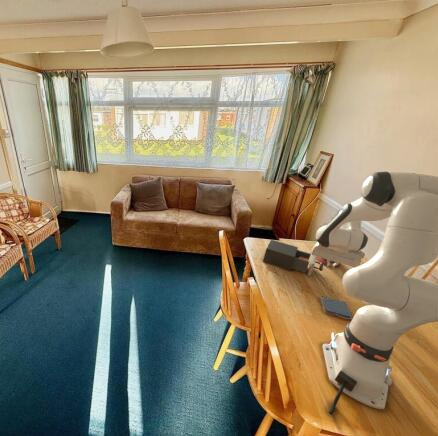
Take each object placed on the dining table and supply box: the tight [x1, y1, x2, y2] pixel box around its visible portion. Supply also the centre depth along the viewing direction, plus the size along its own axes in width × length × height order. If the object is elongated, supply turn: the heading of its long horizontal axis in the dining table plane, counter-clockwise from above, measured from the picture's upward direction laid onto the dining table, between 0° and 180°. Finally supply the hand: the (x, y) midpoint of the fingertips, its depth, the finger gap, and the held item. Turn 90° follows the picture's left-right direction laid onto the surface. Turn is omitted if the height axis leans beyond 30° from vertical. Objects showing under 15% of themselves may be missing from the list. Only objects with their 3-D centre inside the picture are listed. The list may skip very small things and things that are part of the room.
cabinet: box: [262, 239, 299, 272], centre depth 136 cm, size 15×13×10 cm
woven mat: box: [319, 295, 353, 321], centre depth 105 cm, size 10×11×2 cm
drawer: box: [291, 249, 324, 276], centre depth 130 cm, size 18×11×8 cm, turn 52°
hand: (330, 266), depth 122 cm, fingers closed
